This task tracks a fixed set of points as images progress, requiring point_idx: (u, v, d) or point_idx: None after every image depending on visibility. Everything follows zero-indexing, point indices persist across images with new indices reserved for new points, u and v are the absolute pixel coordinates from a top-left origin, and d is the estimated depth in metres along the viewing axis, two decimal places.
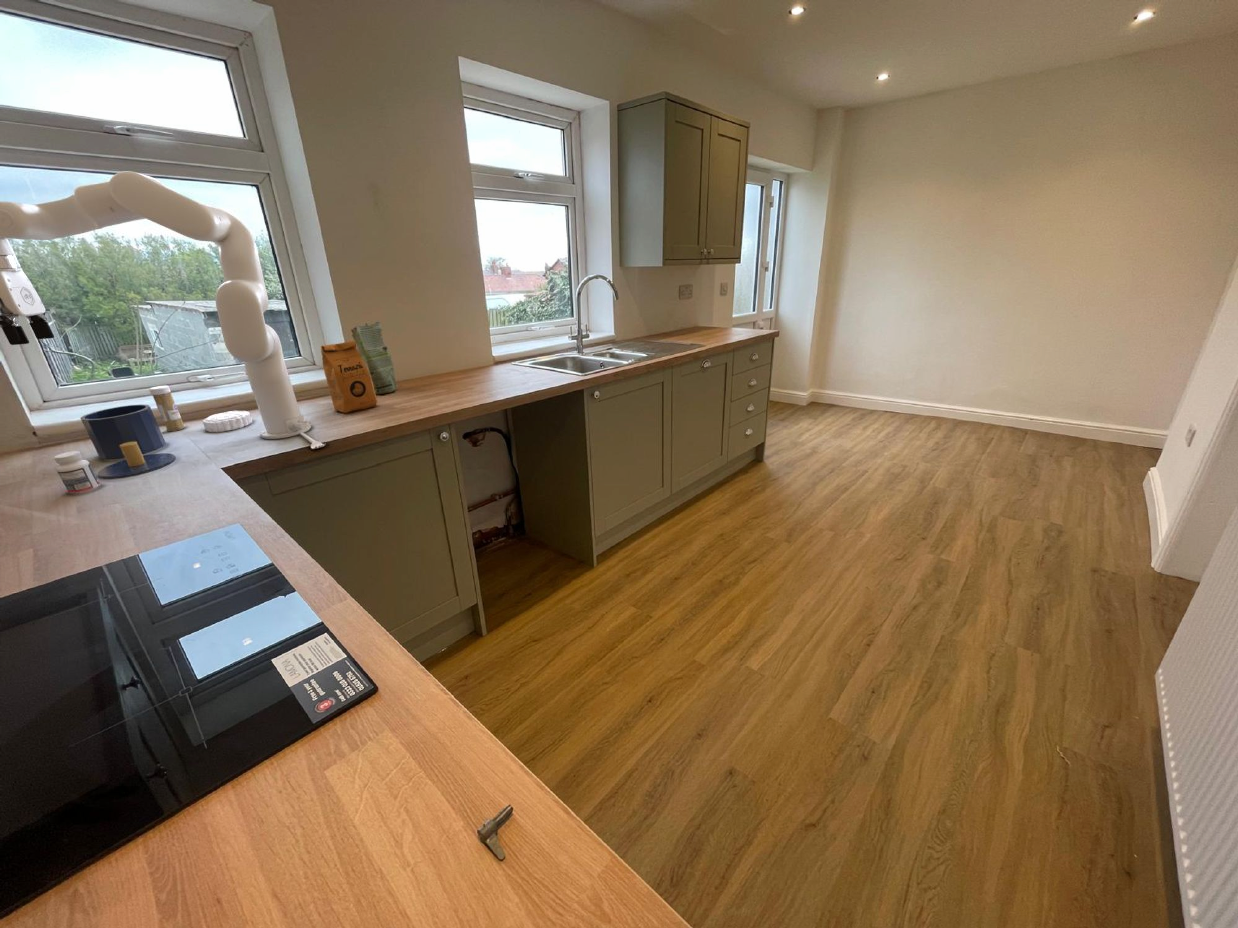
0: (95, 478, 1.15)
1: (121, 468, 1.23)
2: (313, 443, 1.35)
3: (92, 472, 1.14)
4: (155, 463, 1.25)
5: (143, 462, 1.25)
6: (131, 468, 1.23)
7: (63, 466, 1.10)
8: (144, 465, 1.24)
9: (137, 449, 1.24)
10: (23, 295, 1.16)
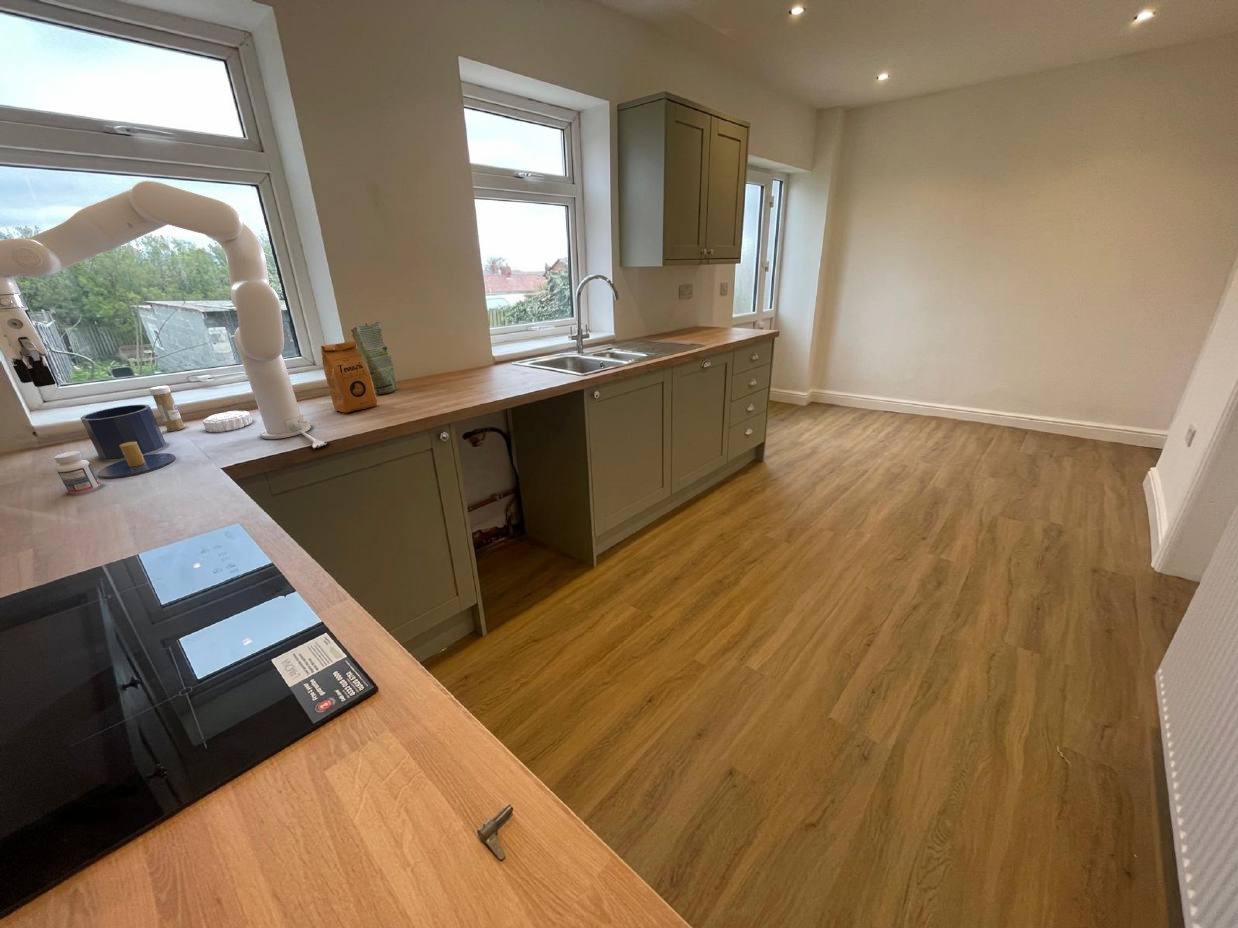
0: (95, 478, 1.15)
1: (121, 468, 1.23)
2: (314, 442, 1.36)
3: (92, 472, 1.14)
4: (155, 463, 1.25)
5: (143, 462, 1.25)
6: (131, 468, 1.23)
7: (63, 466, 1.10)
8: (144, 465, 1.24)
9: (137, 449, 1.24)
10: None
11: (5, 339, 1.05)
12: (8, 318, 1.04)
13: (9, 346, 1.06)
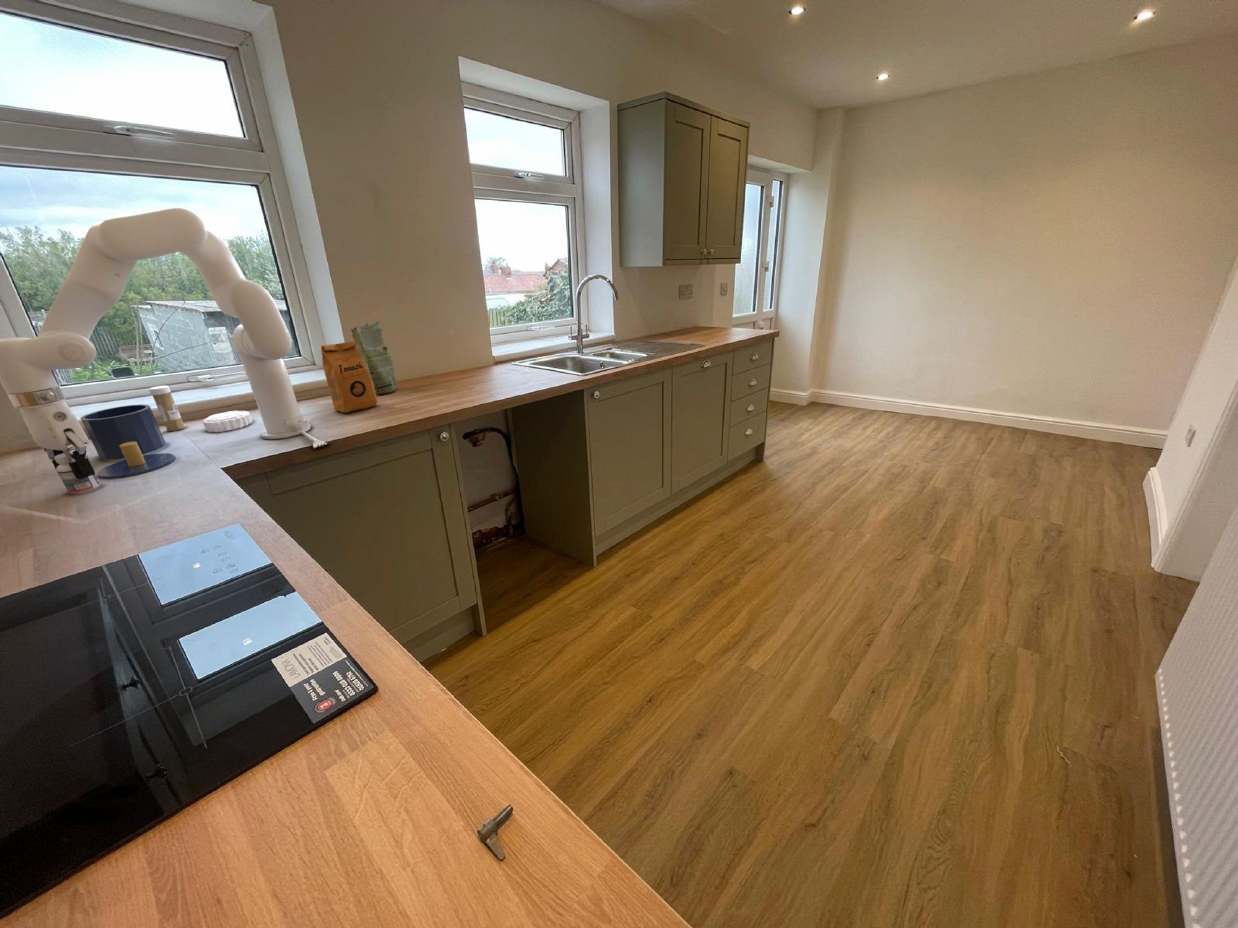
0: (95, 478, 1.15)
1: (121, 468, 1.23)
2: (315, 442, 1.36)
3: None
4: (155, 463, 1.25)
5: (143, 462, 1.25)
6: (131, 468, 1.23)
7: (63, 466, 1.10)
8: (144, 465, 1.24)
9: (137, 449, 1.24)
10: None
11: (49, 432, 1.06)
12: (53, 412, 1.05)
13: (54, 439, 1.06)
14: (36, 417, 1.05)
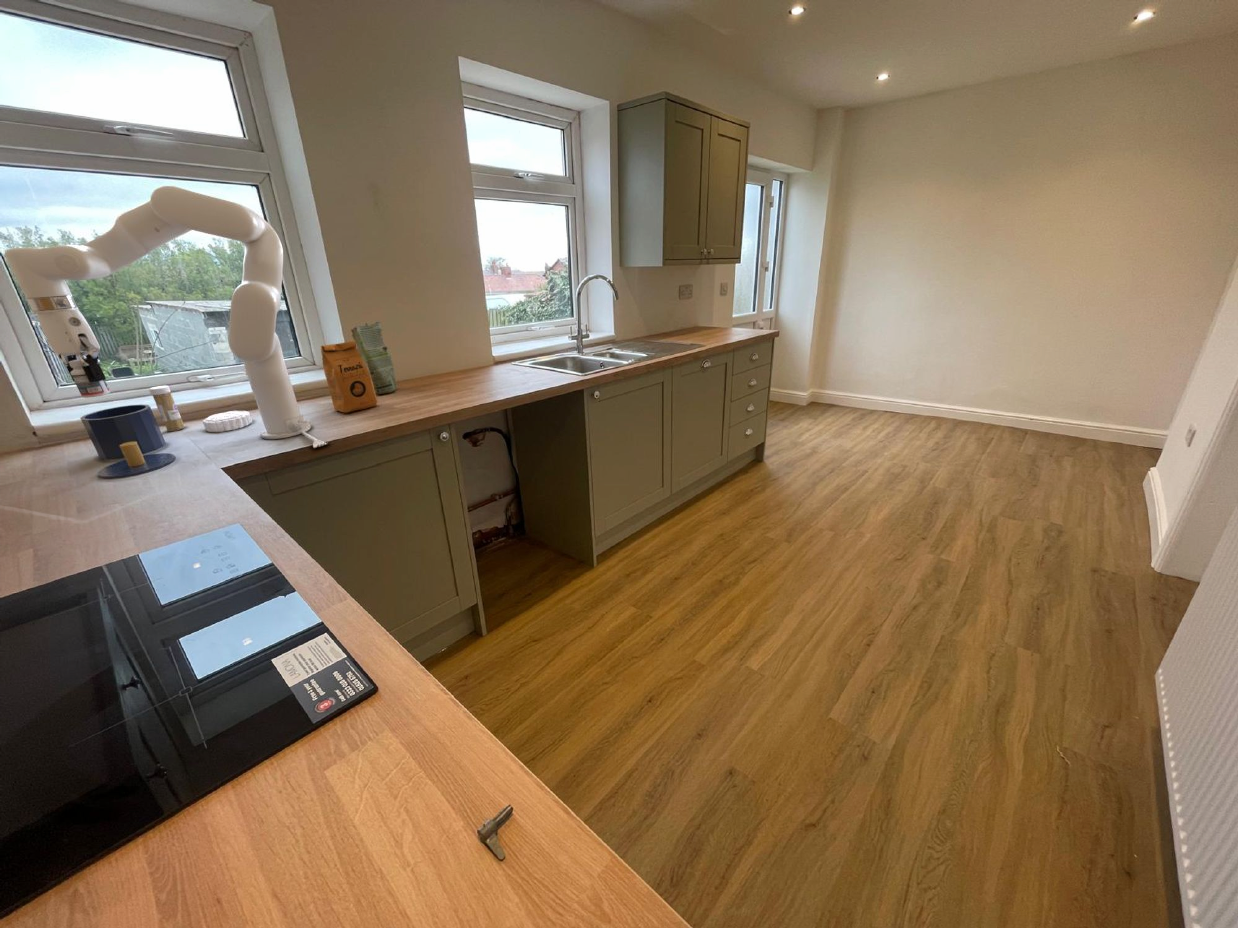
0: (105, 384, 1.26)
1: (121, 468, 1.23)
2: (315, 442, 1.36)
3: None
4: (155, 463, 1.25)
5: (143, 462, 1.25)
6: (131, 468, 1.23)
7: (76, 370, 1.22)
8: (144, 465, 1.24)
9: (137, 449, 1.24)
10: None
11: (65, 335, 1.17)
12: (68, 317, 1.17)
13: (69, 342, 1.18)
14: (53, 321, 1.16)
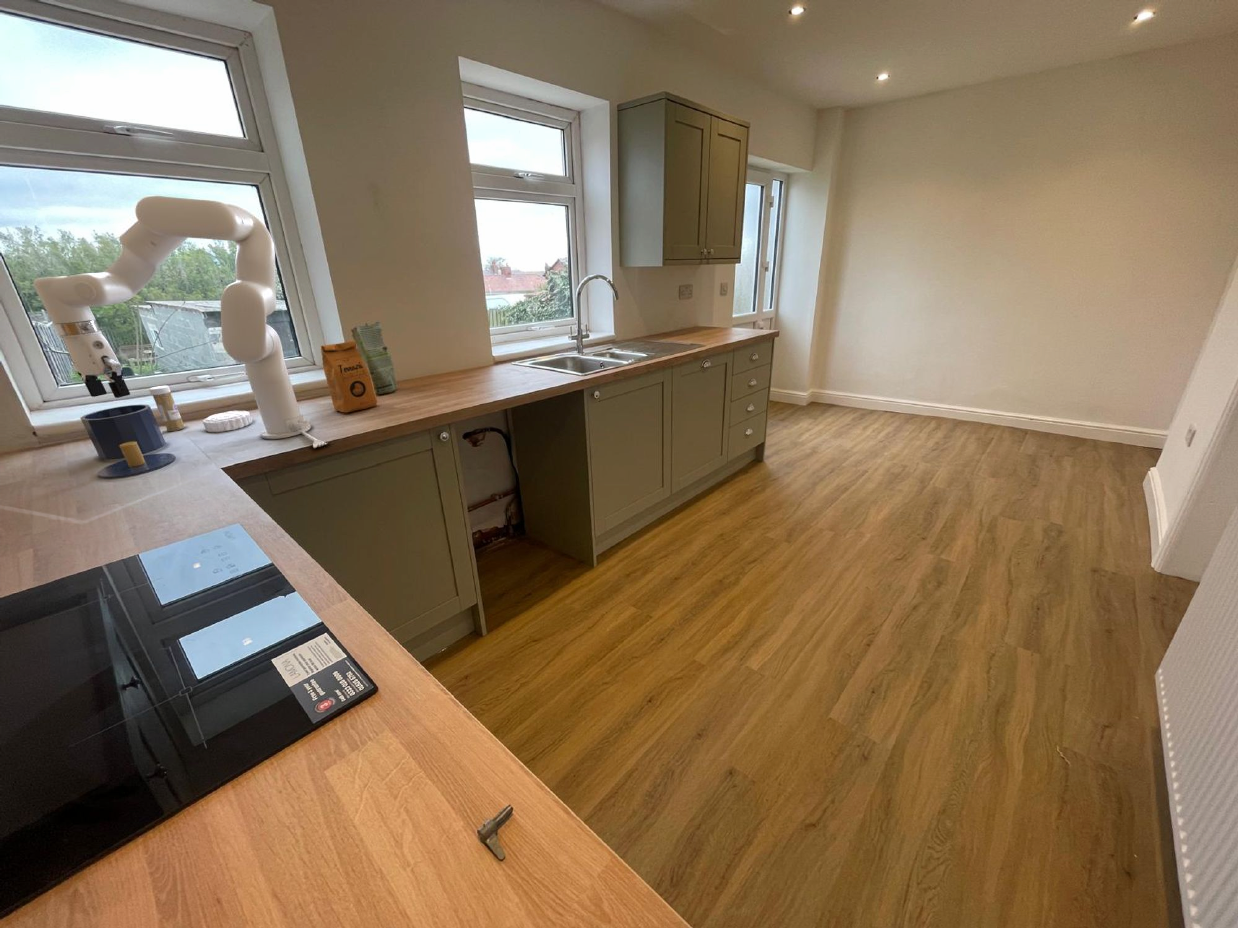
0: None
1: (121, 468, 1.23)
2: (315, 442, 1.36)
3: None
4: (155, 463, 1.25)
5: (143, 462, 1.25)
6: (131, 468, 1.23)
7: None
8: (144, 465, 1.24)
9: (137, 449, 1.24)
10: None
11: (89, 358, 1.24)
12: (92, 340, 1.24)
13: (93, 364, 1.25)
14: (78, 345, 1.23)
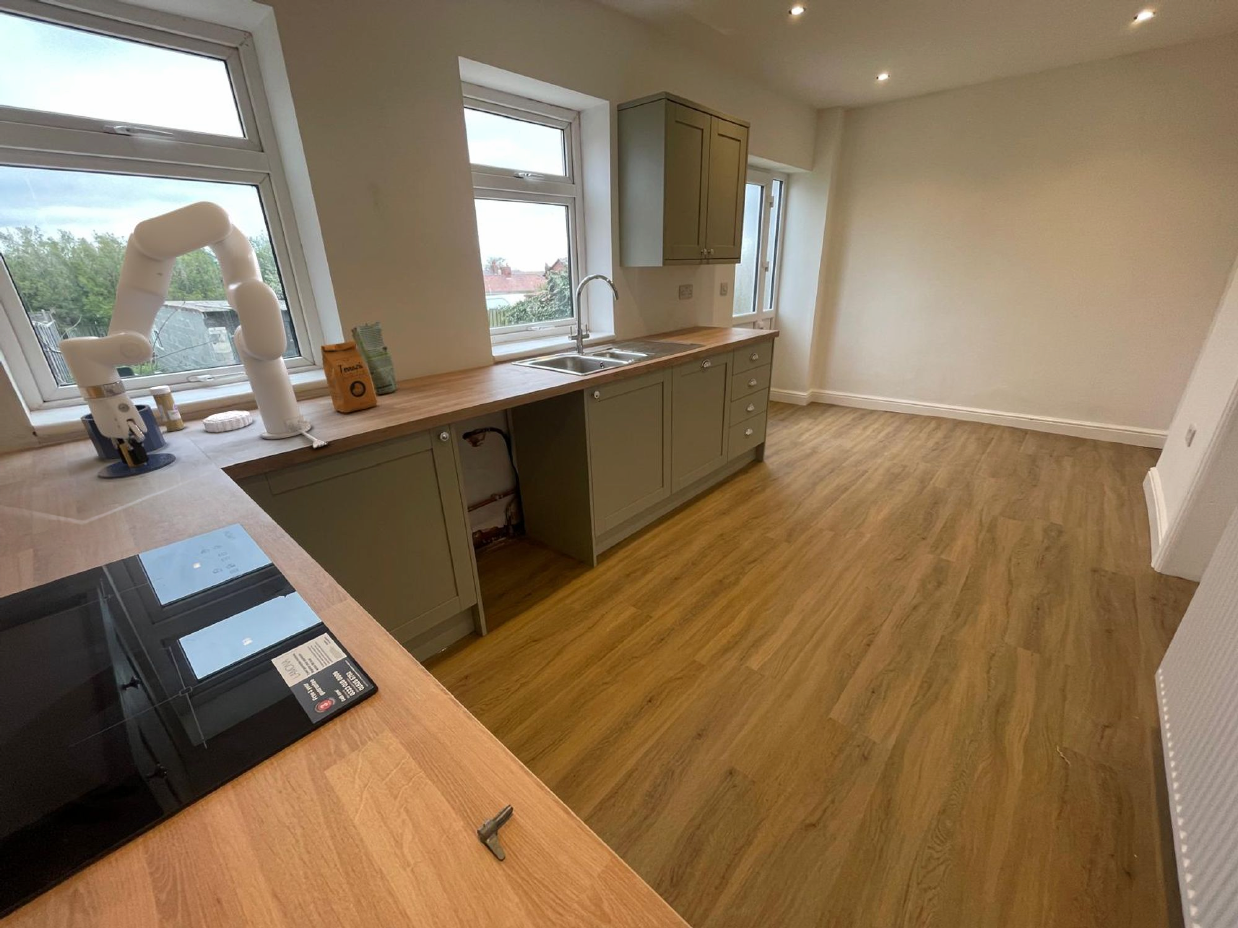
0: None
1: (121, 468, 1.23)
2: (315, 442, 1.36)
3: None
4: (155, 463, 1.25)
5: None
6: (131, 468, 1.23)
7: None
8: (144, 465, 1.24)
9: None
10: None
11: (114, 421, 1.18)
12: (118, 403, 1.17)
13: (118, 428, 1.18)
14: (103, 408, 1.17)
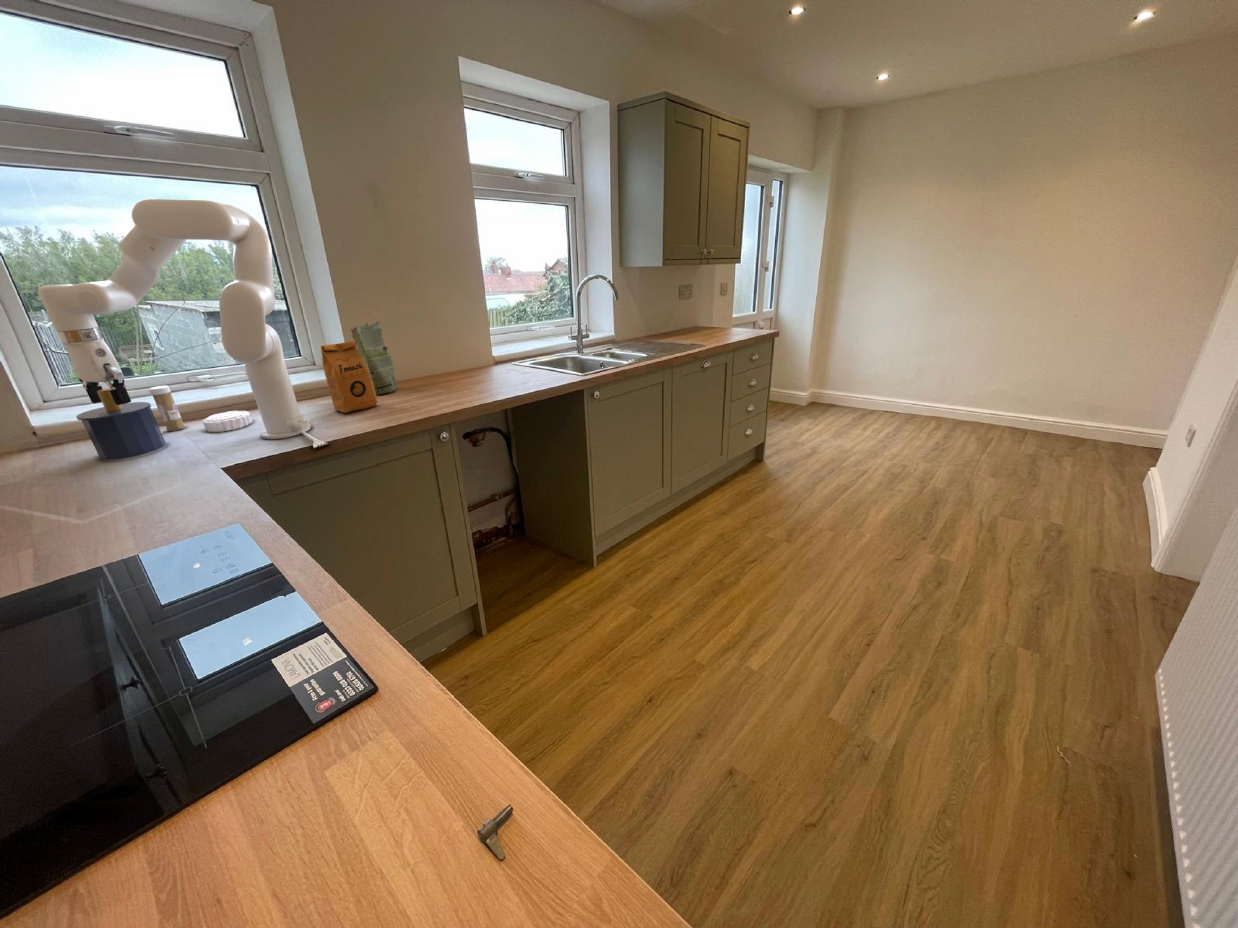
0: None
1: (99, 412, 1.31)
2: (315, 442, 1.36)
3: None
4: (131, 409, 1.33)
5: (120, 408, 1.33)
6: (108, 412, 1.31)
7: None
8: (120, 410, 1.32)
9: None
10: None
11: (91, 365, 1.25)
12: (95, 348, 1.25)
13: (95, 371, 1.26)
14: (81, 352, 1.24)
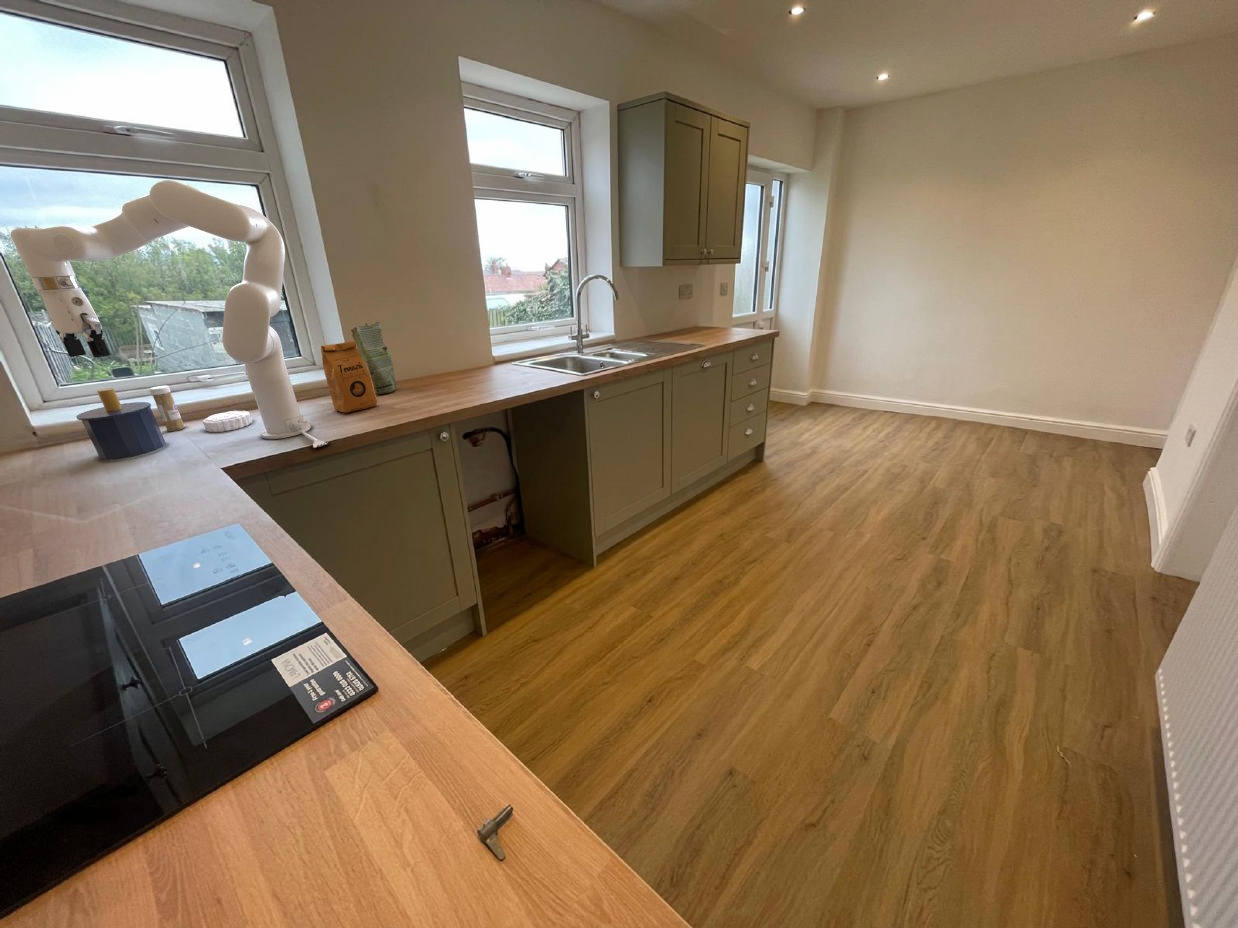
0: None
1: (99, 412, 1.31)
2: (315, 442, 1.36)
3: None
4: (131, 409, 1.33)
5: (120, 408, 1.33)
6: (108, 412, 1.31)
7: None
8: (120, 410, 1.32)
9: (114, 395, 1.31)
10: None
11: (68, 315, 1.20)
12: (71, 296, 1.20)
13: (71, 321, 1.21)
14: (56, 301, 1.19)
